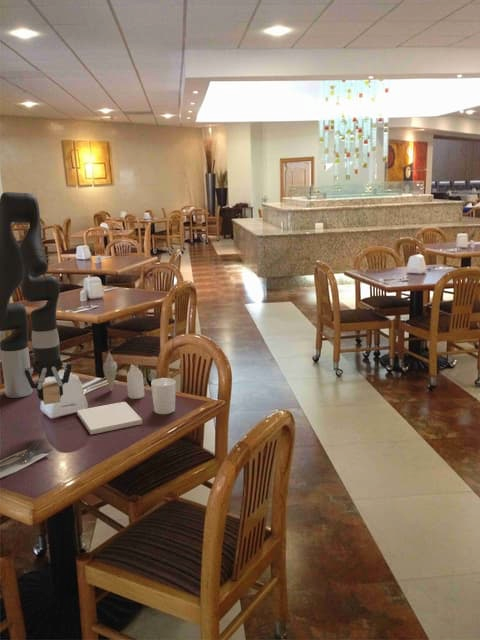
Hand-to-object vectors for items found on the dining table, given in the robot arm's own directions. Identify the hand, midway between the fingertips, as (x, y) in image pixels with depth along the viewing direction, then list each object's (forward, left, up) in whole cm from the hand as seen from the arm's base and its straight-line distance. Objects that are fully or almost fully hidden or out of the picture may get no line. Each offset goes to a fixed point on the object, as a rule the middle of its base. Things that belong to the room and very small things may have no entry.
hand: (50, 398), depth 172 cm
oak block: (0, 0, -1) cm, 1 cm away
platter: (0, +17, -10) cm, 20 cm away
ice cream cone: (-26, +25, -11) cm, 38 cm away
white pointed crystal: (-16, +31, -11) cm, 36 cm away
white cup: (+2, +35, -11) cm, 37 cm away
